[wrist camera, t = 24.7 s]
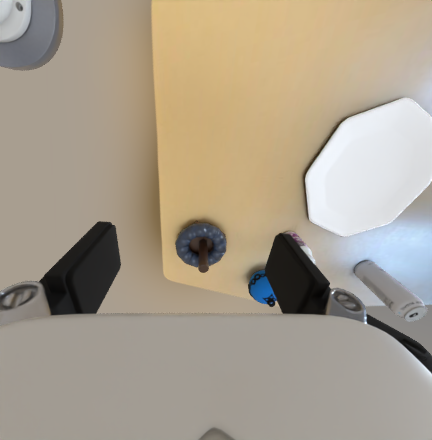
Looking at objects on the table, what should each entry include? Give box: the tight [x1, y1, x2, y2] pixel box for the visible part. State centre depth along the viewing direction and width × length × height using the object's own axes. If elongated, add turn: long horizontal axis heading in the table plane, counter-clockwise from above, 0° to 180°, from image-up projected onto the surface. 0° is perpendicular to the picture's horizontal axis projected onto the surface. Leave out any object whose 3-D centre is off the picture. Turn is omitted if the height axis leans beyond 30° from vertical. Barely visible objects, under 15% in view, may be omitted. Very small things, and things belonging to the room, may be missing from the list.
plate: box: [305, 98, 432, 237], centre depth 40 cm, size 28×28×2 cm
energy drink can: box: [355, 261, 428, 321], centre depth 47 cm, size 6×6×15 cm
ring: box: [175, 223, 226, 267], centre depth 42 cm, size 12×12×3 cm
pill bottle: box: [285, 231, 315, 264], centre depth 43 cm, size 5×5×10 cm
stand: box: [189, 221, 226, 273], centre depth 40 cm, size 8×8×10 cm
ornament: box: [248, 270, 277, 307], centre depth 47 cm, size 9×9×10 cm
